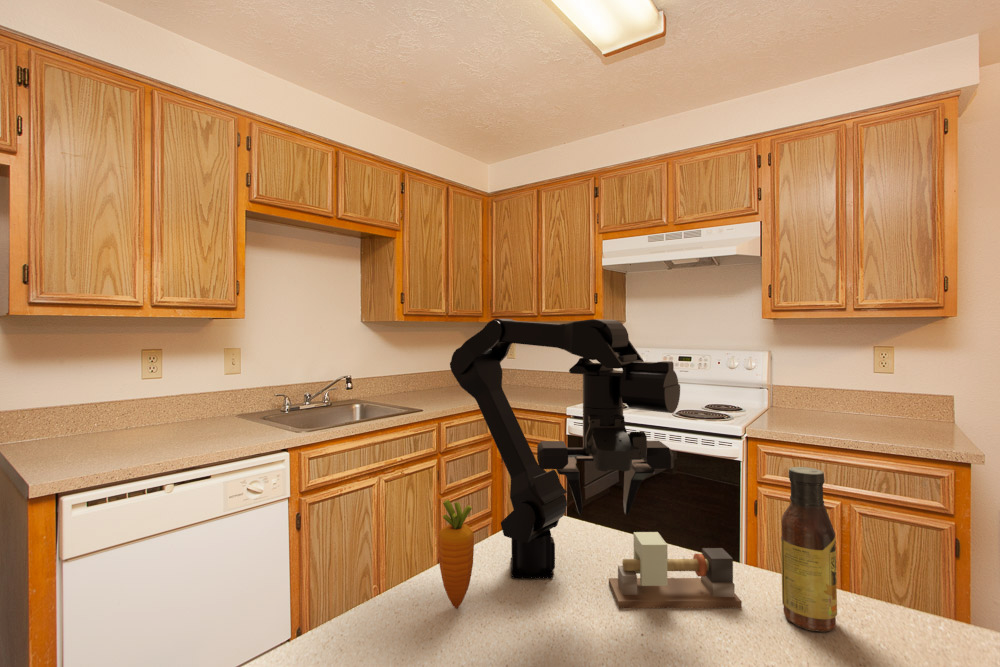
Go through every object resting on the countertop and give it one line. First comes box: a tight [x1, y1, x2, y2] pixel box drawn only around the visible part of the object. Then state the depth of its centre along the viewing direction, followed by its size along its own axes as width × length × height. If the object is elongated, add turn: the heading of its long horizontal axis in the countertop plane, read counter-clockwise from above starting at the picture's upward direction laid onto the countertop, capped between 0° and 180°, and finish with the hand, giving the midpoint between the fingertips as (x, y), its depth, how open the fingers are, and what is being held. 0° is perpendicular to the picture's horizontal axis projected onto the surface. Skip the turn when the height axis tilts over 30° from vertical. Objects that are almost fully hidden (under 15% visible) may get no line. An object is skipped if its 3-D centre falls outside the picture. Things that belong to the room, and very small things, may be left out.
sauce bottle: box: [780, 466, 838, 633], centre depth 66 cm, size 7×6×20 cm
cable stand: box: [608, 547, 743, 609], centre depth 73 cm, size 17×6×6 cm, turn 90°
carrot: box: [437, 499, 475, 609], centre depth 70 cm, size 5×5×15 cm
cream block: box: [633, 531, 668, 586], centre depth 73 cm, size 4×4×6 cm
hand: (603, 513), depth 73 cm, fingers open, 6 cm apart
